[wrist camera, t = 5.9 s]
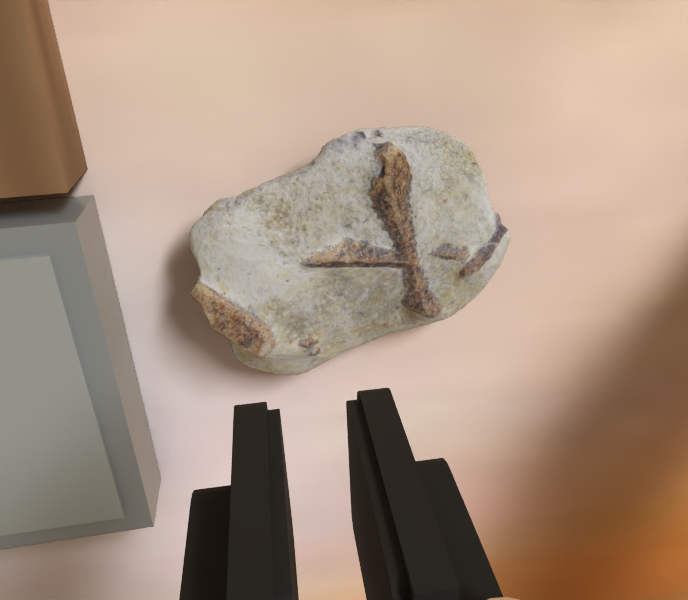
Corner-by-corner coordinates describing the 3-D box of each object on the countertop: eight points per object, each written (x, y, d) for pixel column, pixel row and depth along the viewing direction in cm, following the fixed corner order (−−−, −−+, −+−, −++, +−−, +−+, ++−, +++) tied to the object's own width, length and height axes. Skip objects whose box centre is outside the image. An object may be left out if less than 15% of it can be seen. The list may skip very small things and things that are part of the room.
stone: (441, 69, 22) (476, 83, 19) (506, 265, 27) (541, 301, 24) (152, 214, 23) (145, 250, 20) (265, 383, 27) (272, 431, 24)
